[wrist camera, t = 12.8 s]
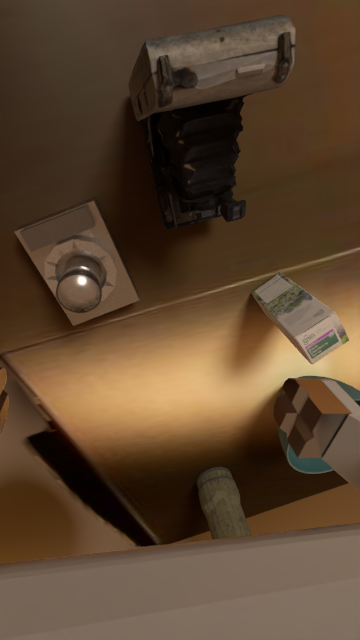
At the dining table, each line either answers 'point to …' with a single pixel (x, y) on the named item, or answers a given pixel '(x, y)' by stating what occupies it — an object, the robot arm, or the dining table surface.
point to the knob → (80, 285)
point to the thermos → (221, 504)
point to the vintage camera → (204, 110)
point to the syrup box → (301, 317)
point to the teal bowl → (312, 463)
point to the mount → (79, 254)
